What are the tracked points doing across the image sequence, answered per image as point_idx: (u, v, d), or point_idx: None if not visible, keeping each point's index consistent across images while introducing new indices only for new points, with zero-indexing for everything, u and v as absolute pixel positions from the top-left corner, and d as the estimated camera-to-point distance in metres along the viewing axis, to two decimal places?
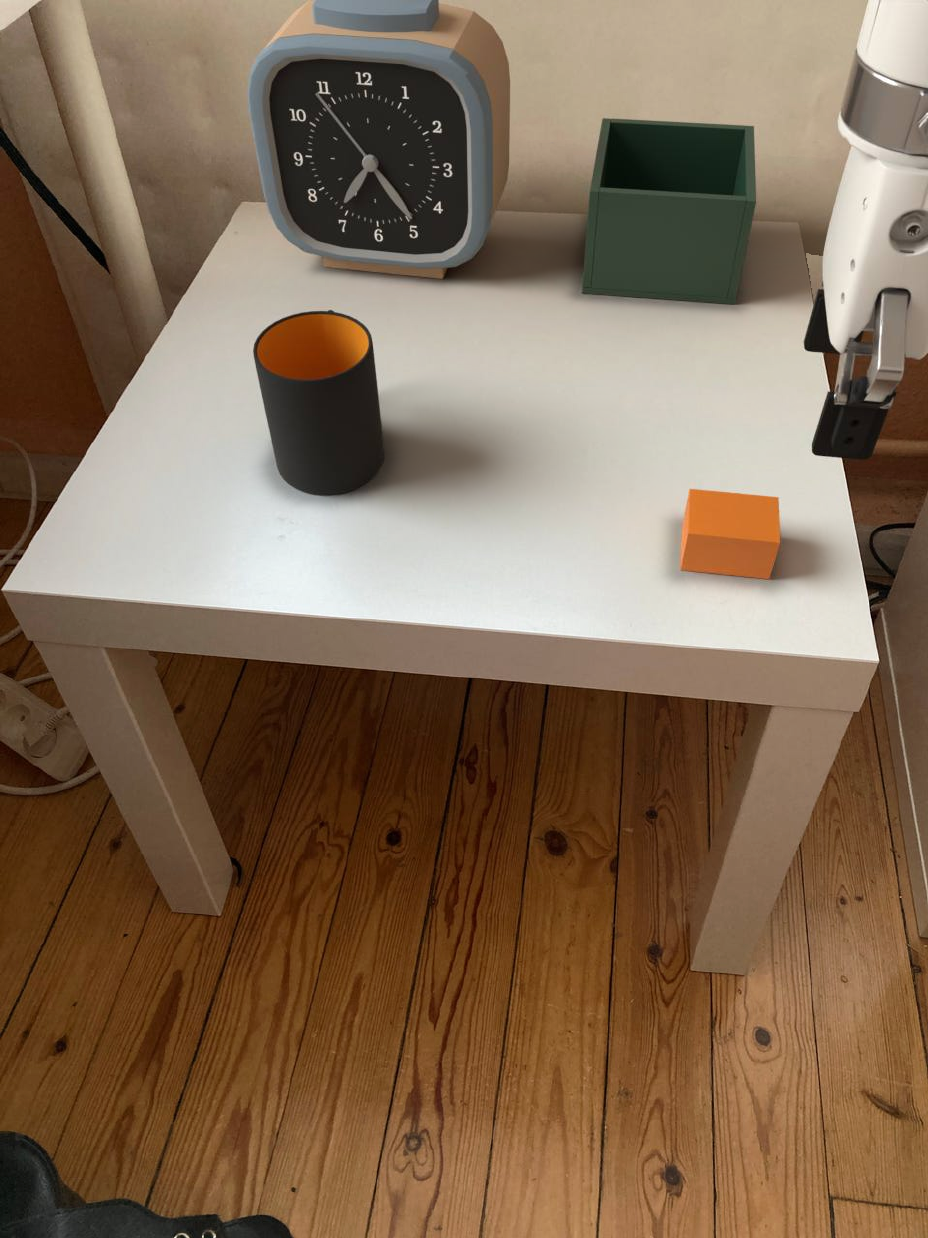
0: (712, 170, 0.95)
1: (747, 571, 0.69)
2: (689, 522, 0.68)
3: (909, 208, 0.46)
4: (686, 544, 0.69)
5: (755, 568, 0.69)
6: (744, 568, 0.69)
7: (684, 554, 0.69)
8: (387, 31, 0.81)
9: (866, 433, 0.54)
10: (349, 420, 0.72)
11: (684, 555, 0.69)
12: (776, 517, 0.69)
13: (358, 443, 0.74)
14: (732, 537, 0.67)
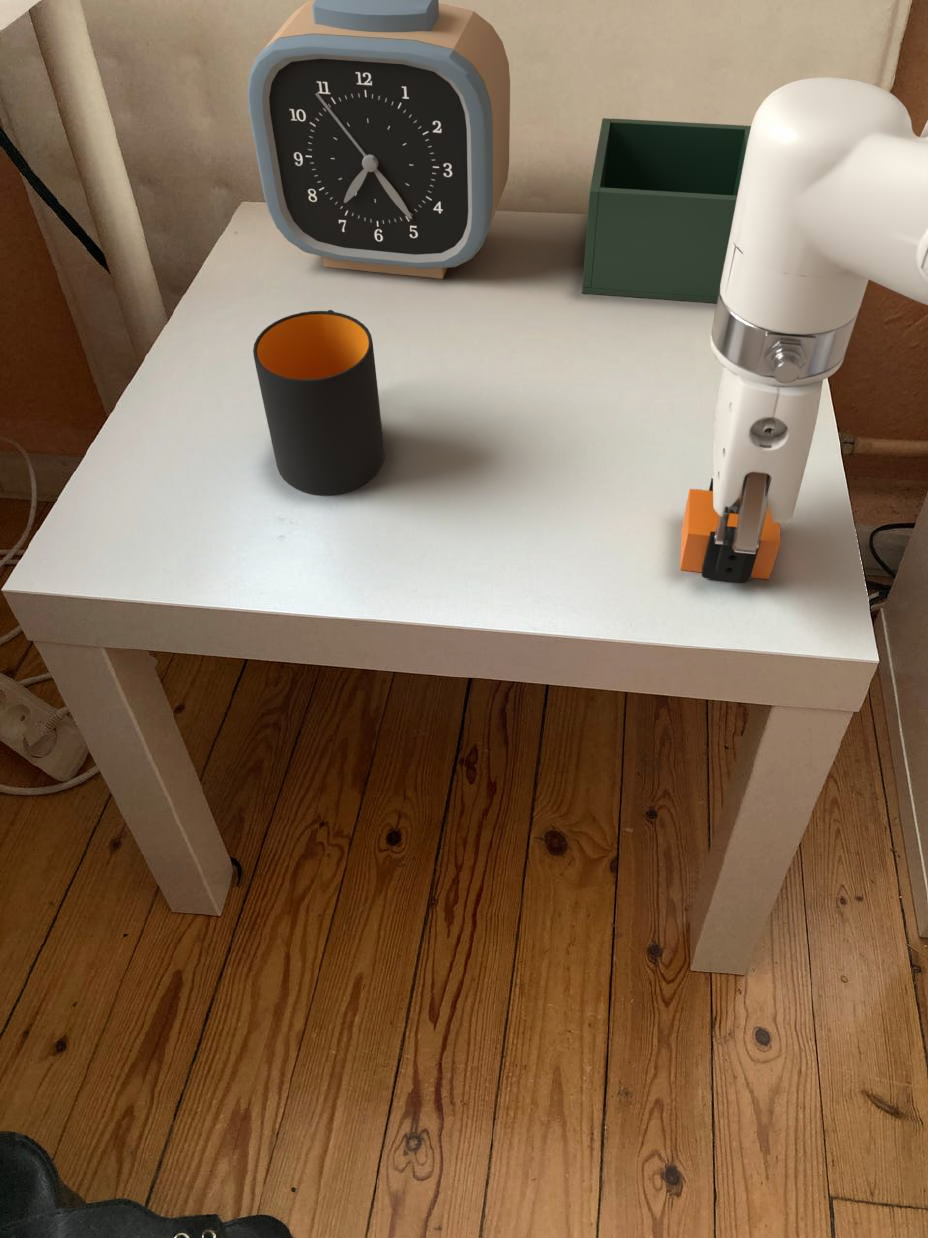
0: (712, 170, 0.95)
1: None
2: (689, 522, 0.68)
3: (763, 416, 0.57)
4: (686, 544, 0.69)
5: (755, 568, 0.69)
6: None
7: (684, 554, 0.69)
8: (387, 31, 0.81)
9: (742, 565, 0.67)
10: (349, 420, 0.72)
11: (684, 555, 0.69)
12: None
13: (358, 443, 0.74)
14: None
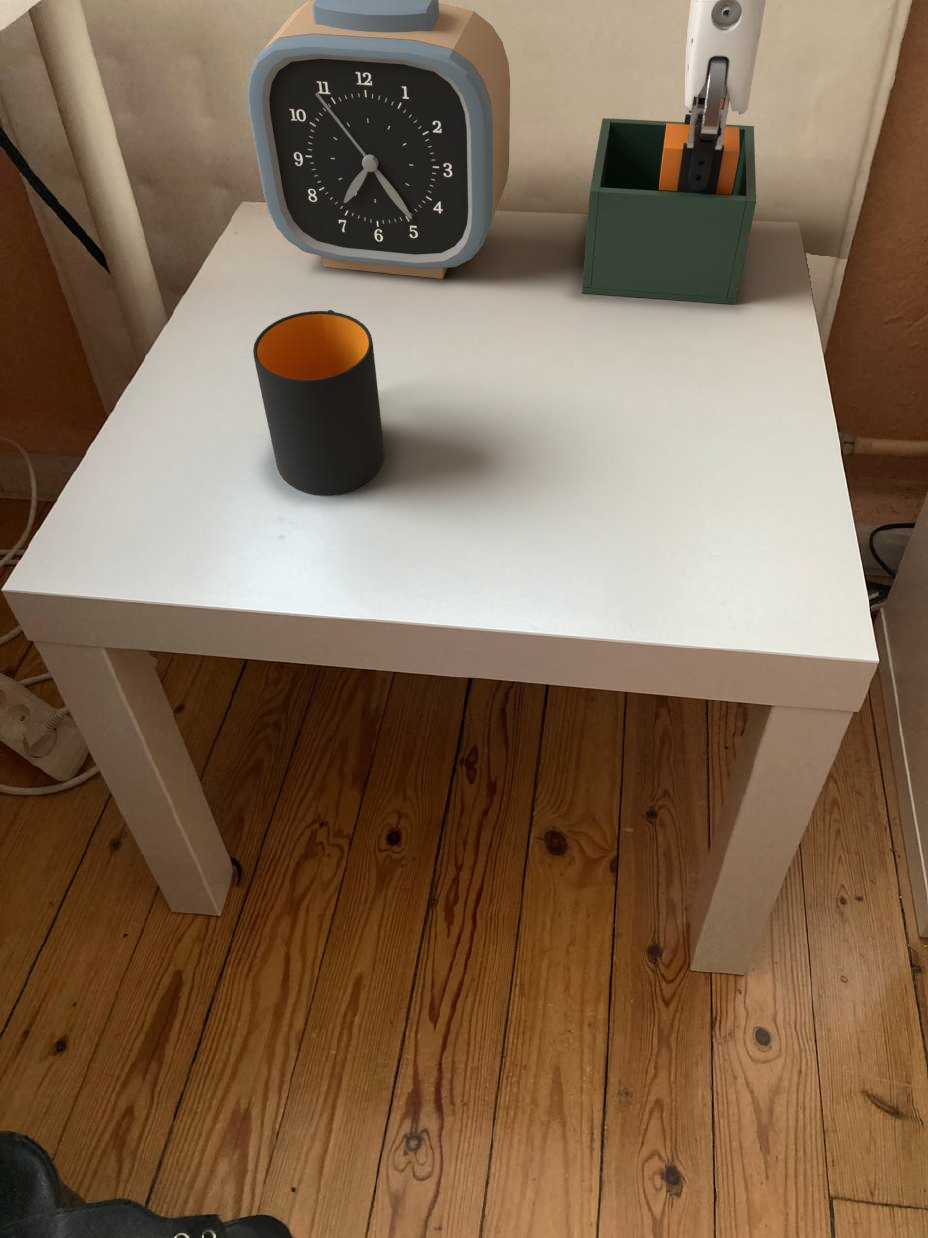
0: None
1: None
2: (665, 141, 0.84)
3: None
4: (663, 160, 0.84)
5: (720, 182, 0.84)
6: None
7: (662, 171, 0.85)
8: (387, 31, 0.81)
9: (709, 171, 0.83)
10: (349, 420, 0.72)
11: (662, 172, 0.85)
12: (737, 138, 0.84)
13: (358, 443, 0.74)
14: None
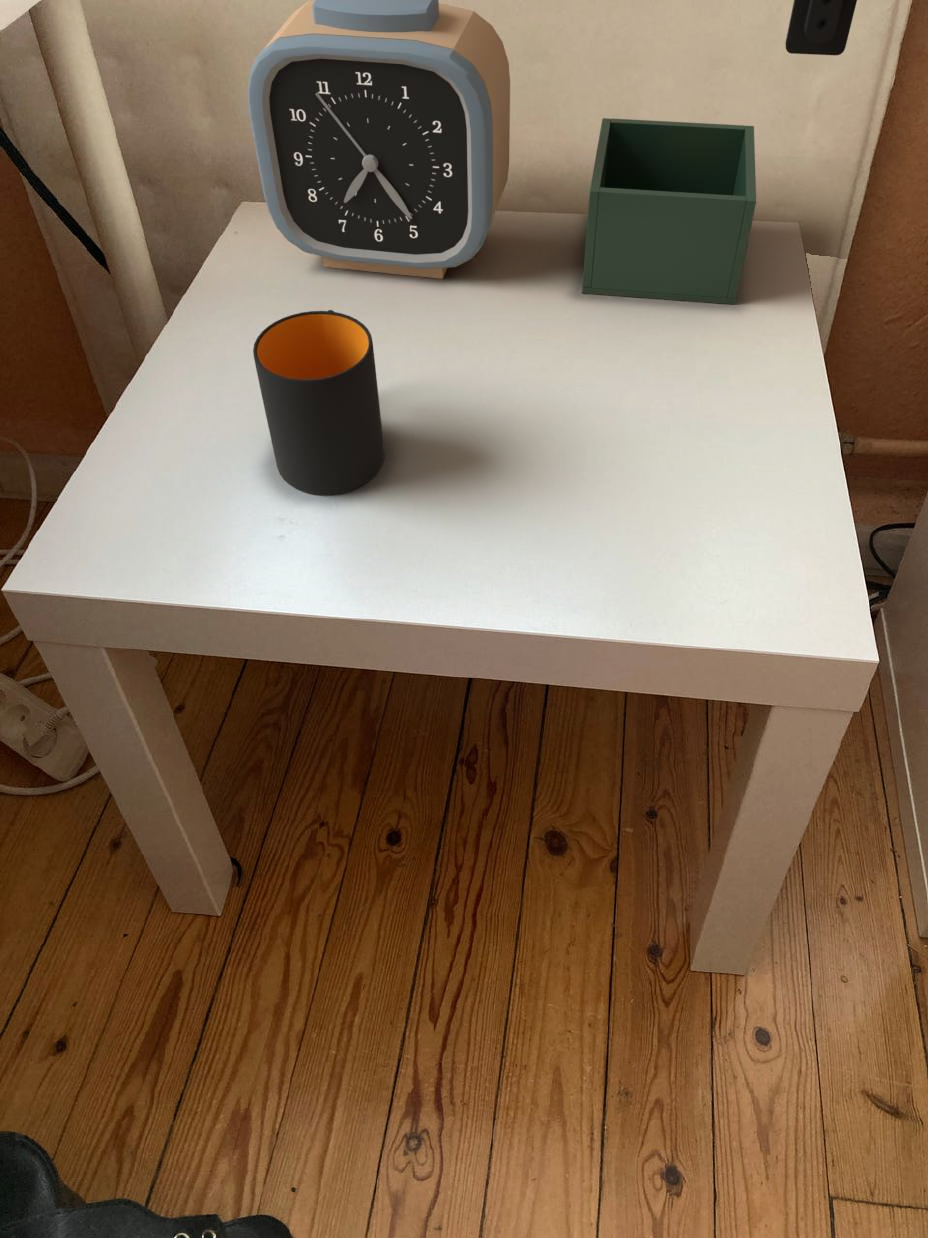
0: (712, 170, 0.95)
1: None
2: None
3: None
4: None
5: None
6: None
7: None
8: (387, 31, 0.81)
9: (838, 12, 0.55)
10: (349, 420, 0.72)
11: None
12: None
13: (358, 443, 0.74)
14: None
